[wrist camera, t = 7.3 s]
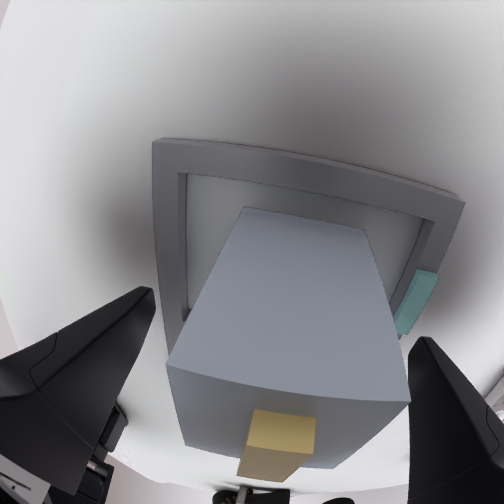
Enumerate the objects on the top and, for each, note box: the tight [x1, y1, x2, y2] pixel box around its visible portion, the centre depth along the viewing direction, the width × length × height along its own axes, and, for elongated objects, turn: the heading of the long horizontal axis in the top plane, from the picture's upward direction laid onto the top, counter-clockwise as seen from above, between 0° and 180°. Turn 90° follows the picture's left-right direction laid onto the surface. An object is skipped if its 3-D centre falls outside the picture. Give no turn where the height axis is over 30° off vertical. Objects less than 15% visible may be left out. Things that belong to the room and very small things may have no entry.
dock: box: [152, 138, 465, 356], centre depth 13 cm, size 11×17×1 cm, turn 174°
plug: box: [166, 207, 411, 483], centre depth 8 cm, size 4×4×8 cm
